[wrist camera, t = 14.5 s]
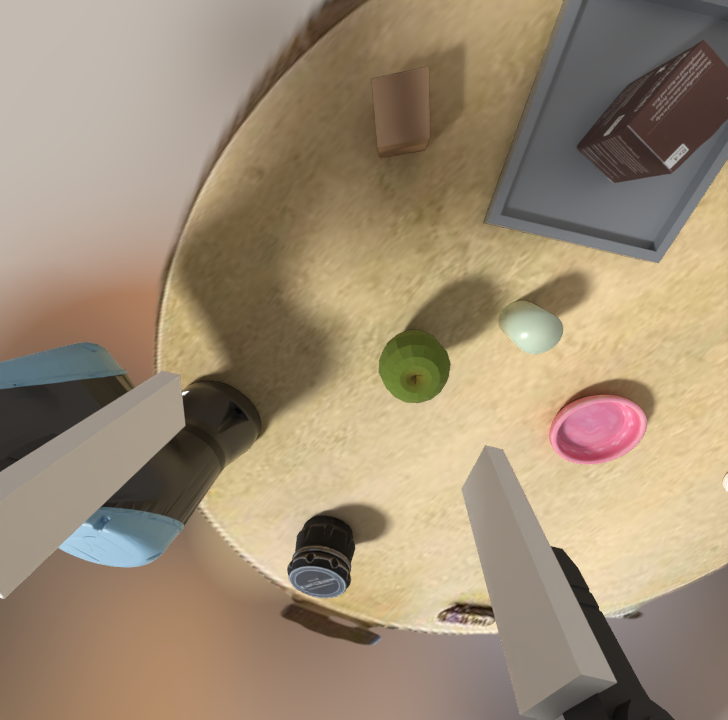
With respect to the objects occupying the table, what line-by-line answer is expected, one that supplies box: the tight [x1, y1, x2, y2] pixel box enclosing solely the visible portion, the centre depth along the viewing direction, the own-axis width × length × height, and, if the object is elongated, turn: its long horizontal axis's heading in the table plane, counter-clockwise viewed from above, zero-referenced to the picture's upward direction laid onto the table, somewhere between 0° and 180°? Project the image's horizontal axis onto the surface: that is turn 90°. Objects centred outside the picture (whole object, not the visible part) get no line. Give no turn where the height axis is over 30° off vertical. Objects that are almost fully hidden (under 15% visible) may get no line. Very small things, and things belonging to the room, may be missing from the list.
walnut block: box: [371, 66, 430, 158], centre depth 28 cm, size 5×5×5 cm
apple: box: [379, 330, 450, 403], centre depth 35 cm, size 9×8×12 cm
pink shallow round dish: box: [549, 395, 647, 464], centre depth 42 cm, size 12×12×3 cm
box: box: [577, 40, 728, 183], centre depth 25 cm, size 6×6×7 cm
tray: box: [483, 0, 728, 263], centre depth 28 cm, size 20×20×2 cm
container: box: [287, 516, 355, 598], centre depth 57 cm, size 13×13×10 cm
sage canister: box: [499, 300, 563, 354], centre depth 35 cm, size 5×5×6 cm
